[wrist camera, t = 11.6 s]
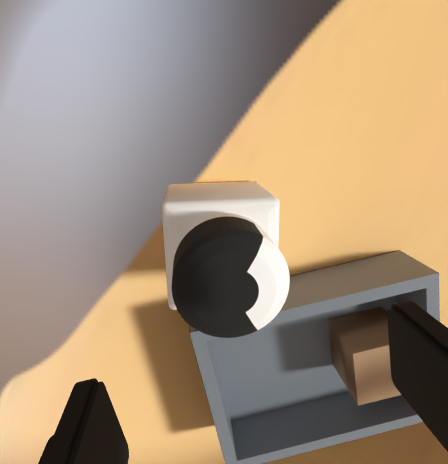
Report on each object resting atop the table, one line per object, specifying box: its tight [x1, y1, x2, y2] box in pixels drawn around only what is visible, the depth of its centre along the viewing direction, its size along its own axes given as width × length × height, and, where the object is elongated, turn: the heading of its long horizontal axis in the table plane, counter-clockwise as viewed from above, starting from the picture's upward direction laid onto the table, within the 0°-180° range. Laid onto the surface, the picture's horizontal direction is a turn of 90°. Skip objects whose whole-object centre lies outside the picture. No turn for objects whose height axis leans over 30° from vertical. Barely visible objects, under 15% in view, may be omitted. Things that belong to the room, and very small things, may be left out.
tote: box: [190, 250, 440, 464], centre depth 30 cm, size 19×14×5 cm
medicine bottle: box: [162, 181, 290, 338], centre depth 23 cm, size 7×7×12 cm
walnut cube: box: [327, 306, 401, 406], centre depth 30 cm, size 5×5×5 cm
